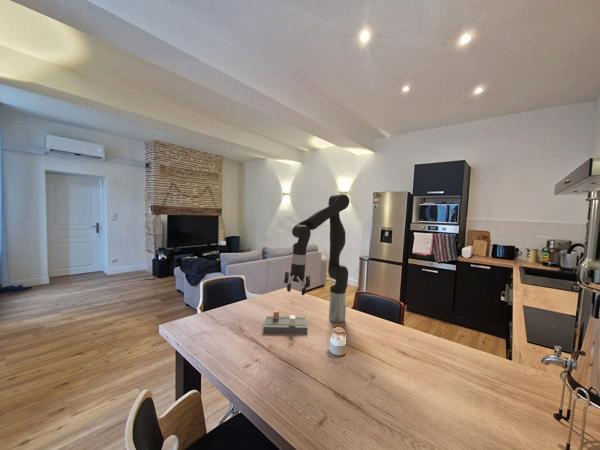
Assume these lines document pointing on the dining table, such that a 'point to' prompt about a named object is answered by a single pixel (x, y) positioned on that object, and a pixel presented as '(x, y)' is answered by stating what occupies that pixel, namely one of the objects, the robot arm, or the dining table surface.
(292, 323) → the cream fader
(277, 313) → the terracotta fader
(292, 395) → the dining table surface
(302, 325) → the fader console
